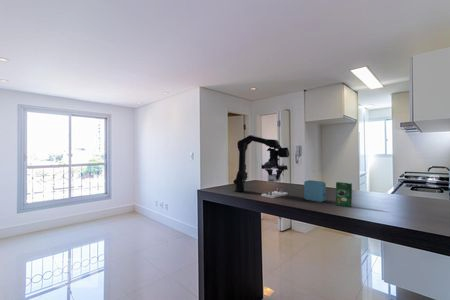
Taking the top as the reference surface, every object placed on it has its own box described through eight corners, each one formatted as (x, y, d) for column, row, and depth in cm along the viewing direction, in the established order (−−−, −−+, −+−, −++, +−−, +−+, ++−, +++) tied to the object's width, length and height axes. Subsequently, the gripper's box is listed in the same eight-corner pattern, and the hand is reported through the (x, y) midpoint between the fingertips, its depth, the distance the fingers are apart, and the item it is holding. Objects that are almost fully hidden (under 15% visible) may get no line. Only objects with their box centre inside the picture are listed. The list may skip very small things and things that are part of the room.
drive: (267, 181, 155) (267, 175, 155) (274, 180, 163) (273, 173, 163) (274, 182, 152) (274, 175, 152) (280, 180, 160) (280, 174, 160)
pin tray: (261, 195, 156) (261, 191, 156) (276, 192, 167) (275, 188, 167) (273, 198, 148) (273, 193, 148) (287, 194, 159) (287, 189, 159)
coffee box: (352, 206, 125) (352, 182, 125) (351, 207, 122) (351, 183, 122) (336, 204, 129) (336, 181, 129) (335, 205, 127) (335, 182, 127)
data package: (326, 201, 138) (325, 181, 138) (322, 202, 135) (322, 182, 135) (307, 198, 147) (307, 179, 147) (304, 199, 144) (303, 180, 144)
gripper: (256, 157, 159) (256, 179, 159) (278, 158, 145) (278, 182, 145) (266, 157, 167) (266, 178, 167) (287, 157, 153) (288, 180, 153)
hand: (274, 179), depth 158 cm, fingers closed on drive, 5 cm apart
